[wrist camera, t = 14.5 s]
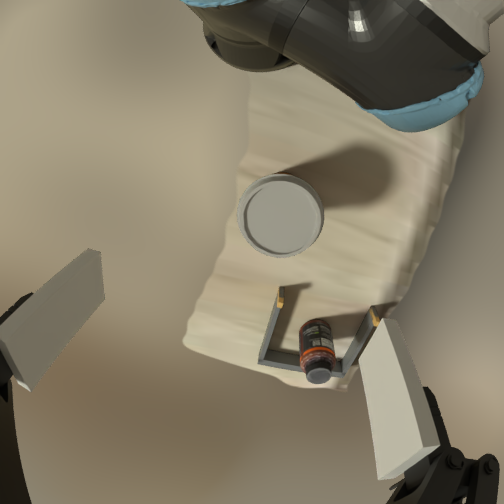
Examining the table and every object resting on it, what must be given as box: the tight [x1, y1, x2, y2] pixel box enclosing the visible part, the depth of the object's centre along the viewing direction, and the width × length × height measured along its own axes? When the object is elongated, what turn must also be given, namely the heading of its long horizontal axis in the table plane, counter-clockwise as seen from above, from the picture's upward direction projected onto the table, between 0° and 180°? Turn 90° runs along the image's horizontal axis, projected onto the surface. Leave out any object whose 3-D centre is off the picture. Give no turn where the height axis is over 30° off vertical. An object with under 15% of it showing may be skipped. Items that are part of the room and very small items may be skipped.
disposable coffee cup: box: [237, 172, 324, 258], centre depth 35 cm, size 10×10×12 cm
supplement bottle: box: [299, 320, 336, 384], centre depth 45 cm, size 6×6×11 cm
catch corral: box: [258, 287, 380, 378], centre depth 49 cm, size 16×18×4 cm
